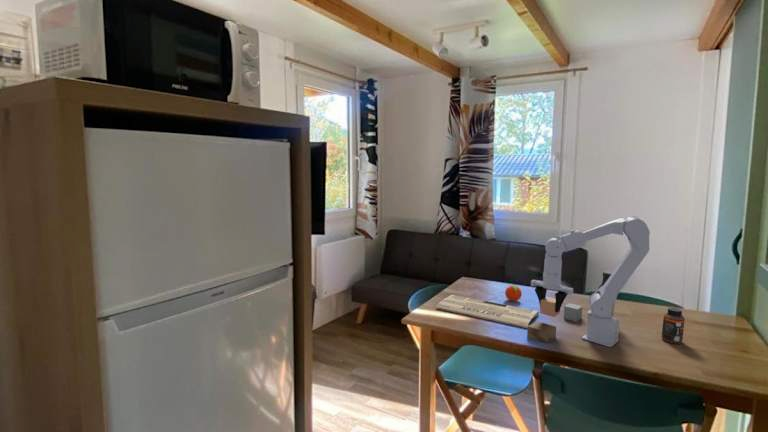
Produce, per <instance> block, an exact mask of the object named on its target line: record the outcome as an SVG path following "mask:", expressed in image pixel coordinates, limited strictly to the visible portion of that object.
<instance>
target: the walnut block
mask: <svg viewBox="0 0 768 432" xmlns="http://www.w3.org/2000/svg"><path fill="white" fill-rule="evenodd" d="M526 331H527V332H526V333H527V335H526V338H527V339H531V340H534V341H537V342H541V343H544V344H549V343H550V342H551V341H553V340H555V339H556V338H557V337H556V336H557V326H555V325H552V324H549V323H546V322H545V323H544V322H542V321H538V320H537V321H534V322H533V323H531V324H528V328H527V330H526Z"/></svg>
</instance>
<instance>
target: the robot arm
mask: <svg viewBox="0 0 768 432" xmlns="http://www.w3.org/2000/svg"><path fill="white" fill-rule="evenodd" d="M650 232H651V231H650V229H649V227H648V225H647V223H646V222H645V221H644V220H642V219H640V218H639V217H637V216H635V215H628V216H625V217H621V218H617V219H614V220H611V221H608V222H605V223H603V224H600V225H598V226H596V227H593V228H590V229H588V230H585V231H582V230H579V229H577V230H575V229H571V230H570V232H569V233H565V234H562V235H557V236H556V238H555V237H552V238H548V240H547V241H546V242H545V244H544V248H545V254H544V263H543V264H544V265H543V277H542V280H537V279H532V280H531V281H530V286H531V287H535V288H534V292H535V294H536V296H537V299H538V302H539V303H538V304H539V306H540V305H541V299H544V298H546V297H547V296H546V295H547V290H551V291H555V292H556V293H555V294H554V297H555V298H554V299H556V307H555V312H559V311H560V312H561V308H562V305H563V302H564V301H565V299H566V298H567V296H568V295H569V296H571V295H574V288H572V287H569V286H566V285H563V284H561V281H562V280H561V279H562V267H563V261H562V254H563V253H564V252H566V253H568V252H569V251H572V250H575V249H579V248H583V247H584V246H586V245H587V243H588V241H591V240H594V239H595V240H596V239H598V238H600V237H604V236H608V235H612V234H614V235H618V236H619V235H621V236H624V235H625V236H626V237H627V240H628V243H629V246H630V247H629V249H628V250H627V251H626V253H625V254H624V256H622V259H621V260H620V262H619V263H618V264H617V266H616V267H615V268H614V270H613V271H612V272H613V273H612V274H611V276H610V277H609V278H608V280H607V281H606V283H605V284H604V285H603V286H602V287H600V288H599V287H598V288H599V290H598V289H597V291H595V292H593V293H592V294H590V295H589V298H588V302H589V304H590V309H589V310H588V311H587V320H586V333H585V334H584V335H583V336H581V339H582V340H584V341H585V340H586V341H589V342H592V343H595V344H598V345H602V346H605V347H607V348H608V347H609V348H612V347H613V346H614V345H615V344H617V342H618V341H619V331H620V321H619V319H618V318H617V317H614V316H613V317H612V316H611V313H612V307H613V305H614V303H616V301H617V297H618V295H619V293H620V292H621V290H622V289H623V288H624V286H625V285H626V283H627V282H628V281H629V279H630V278H631V276H632V275H633V274H634V273H635V272H636V270H637V268H638V267H639V266H640V265H641V263H642V262H643V260H644V259H645V258H646V257H647V255H648V254H649V252H650V234H651V233H650ZM614 306H615V305H614Z"/></svg>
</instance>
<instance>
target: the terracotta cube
mask: <svg viewBox="0 0 768 432" xmlns="http://www.w3.org/2000/svg"><path fill="white" fill-rule="evenodd" d="M555 307H556V298H554V297H550V296H546V297H545V298H544V299H541V305H540V304H539V314H540V315H541V314H542V315H545V316H549V317H552V318H554V317H557V316H558V315H560V314H561V310H560V311H559V312H555Z"/></svg>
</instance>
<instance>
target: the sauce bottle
mask: <svg viewBox="0 0 768 432" xmlns="http://www.w3.org/2000/svg"><path fill="white" fill-rule="evenodd" d="M612 273H613V271H607V270H605V271H603V272H602V281H601V283H600V284H599V285H598V289H597V291H598V290H599V288H600V287H602V286H603V285H604V284H605V283H606V281H607V280H608V278H609V277H610V276H611V274H612ZM615 303H616V302H615ZM615 303H614V305H613V307H612V313H611V316H612V317H613V318H614V313H615V312H614V311H615V305H616V304H615Z"/></svg>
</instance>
